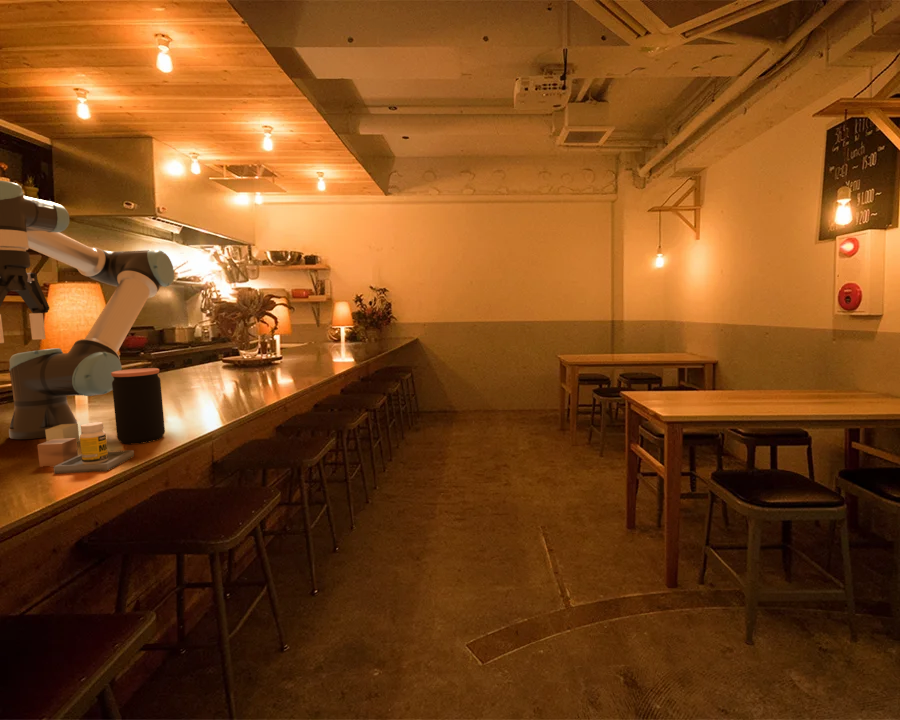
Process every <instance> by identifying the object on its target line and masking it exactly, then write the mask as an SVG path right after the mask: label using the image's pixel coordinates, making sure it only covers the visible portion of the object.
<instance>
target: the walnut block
mask: <svg viewBox="0 0 900 720" xmlns="http://www.w3.org/2000/svg"><path fill="white" fill-rule="evenodd" d="M36 446H37V454H38V455H37V456H38V463H39V467H40V468H44V467H43V466H50V467H54V466H56V465H58V464H60V463H63V462H65V461H67V460H69V459H71V458H74V457H76V456H78V455H79V452H78V451H79V450H78V443H77V442H76V438H65V439H52V440H49V441H46V440H45V441H44V442H42V443H39V444H37V445H36Z"/></svg>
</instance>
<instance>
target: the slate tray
mask: <svg viewBox="0 0 900 720" xmlns="http://www.w3.org/2000/svg"><path fill="white" fill-rule="evenodd" d="M133 456H134V457H135V451H134V450H133V449H131V450H109V451H108V460H107V461H105V462H103V463H96V464H83V463H82V454H81V453H80V454H78V456H76V457H74V458H71V459H69V460H67V461H65V462H63V463H60V464H58V465H56V466H53V474H54V475H55V474H72V473H73V474H74V473H76V472H77V473H93V472H92V471H97V472H108V471H107V470H109V469H110V470H112V469H114V468H116V467H117V465H118V466H120V465H121V464H123V463H125V462H127V461H128V459H129V460H130V458H131V457H132V458H134V457H133ZM132 458H131V459H132ZM126 460H127V461H126ZM124 461H125V462H124ZM122 462H123V463H122ZM120 463H121V464H120ZM119 464H120V465H119ZM115 466H116V467H115ZM113 467H114V468H113ZM111 468H112V469H111ZM110 470H109V471H110Z"/></svg>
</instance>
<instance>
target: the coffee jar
mask: <svg viewBox="0 0 900 720" xmlns="http://www.w3.org/2000/svg"><path fill="white" fill-rule="evenodd" d="M159 374H160V368H157V367H149V368H148V367H145V368H143V367H142V368H140V367H139V368H130V369H121V370H120V371H114V372H112V373H111V375H112V376H113V378H114V380H113V382H112V389H113V390H112V396H113V398H112V399H113V408H114V419H115V427H116V428H115V430H116V437H117V440H118V441H119V442H120V443H121V444H123V443H124V445H132V444H131V443H139V444H144V443H143V442H146V443H150V442H149V441H151V442H154V441H153V440H155V441H158V440H160V439H162V438H163V436H164V434H165V432H166V429H165V420H164V417H165V416H164V406H163V395H162V385H161V383H162V382H161V378H160V376H159ZM157 439H158V440H157Z"/></svg>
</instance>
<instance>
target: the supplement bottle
mask: <svg viewBox="0 0 900 720" xmlns="http://www.w3.org/2000/svg"><path fill="white" fill-rule="evenodd" d="M104 428H105V427H104V424H103V421H102V422H101V421H100V422H99V421H94V422H88V423H83V424H81V425H80V435H79V443H80V452H81V453H80V454H82V463H83V464H96V463H103V462H105V461H107V460H108V443H107V440H108V439H107V433H106V431H104ZM81 432H83V433H82V434H81Z"/></svg>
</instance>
